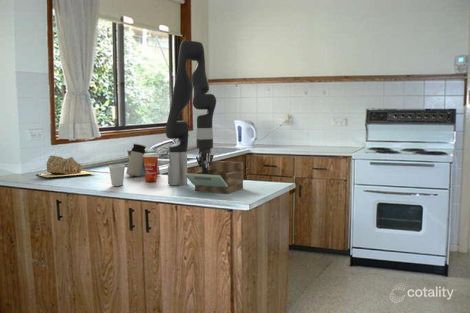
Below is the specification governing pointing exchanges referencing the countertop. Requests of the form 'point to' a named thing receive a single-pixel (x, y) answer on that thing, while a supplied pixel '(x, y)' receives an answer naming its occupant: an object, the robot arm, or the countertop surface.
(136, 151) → the travel mug
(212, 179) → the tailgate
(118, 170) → the dixie cup
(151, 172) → the coffee cup
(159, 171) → the snack box
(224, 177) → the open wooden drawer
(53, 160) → the bread loaf on board
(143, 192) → the countertop surface
